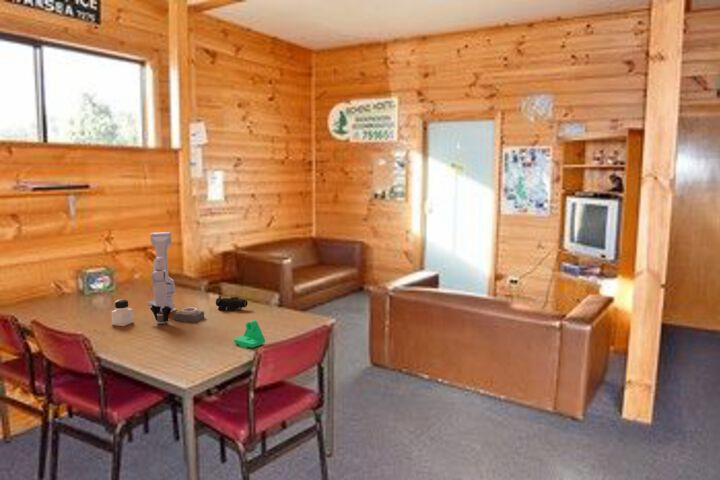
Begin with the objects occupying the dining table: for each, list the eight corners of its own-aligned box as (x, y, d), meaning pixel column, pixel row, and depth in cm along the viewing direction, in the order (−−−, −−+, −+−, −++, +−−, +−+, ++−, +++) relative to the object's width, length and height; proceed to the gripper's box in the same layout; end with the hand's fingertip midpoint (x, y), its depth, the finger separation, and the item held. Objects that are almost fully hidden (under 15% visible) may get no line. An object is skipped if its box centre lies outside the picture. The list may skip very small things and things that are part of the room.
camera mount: (233, 344, 229) (232, 322, 227) (246, 339, 235) (245, 318, 233) (252, 350, 222) (251, 327, 221) (265, 345, 228) (264, 322, 227)
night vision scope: (247, 314, 282) (239, 307, 273) (217, 313, 286) (209, 305, 278) (250, 301, 286) (243, 293, 277) (221, 300, 290) (213, 292, 282)
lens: (155, 324, 257) (154, 313, 256) (161, 322, 261) (160, 310, 260) (162, 325, 256) (162, 313, 255) (169, 322, 260) (168, 311, 259)
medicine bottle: (133, 322, 261) (132, 299, 259) (123, 326, 255) (121, 302, 253) (122, 320, 264) (121, 298, 262) (111, 325, 257) (110, 301, 255)
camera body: (174, 320, 264) (174, 310, 264) (184, 315, 272) (184, 306, 271) (194, 322, 261) (194, 312, 260) (204, 317, 268) (203, 308, 267)
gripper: (142, 295, 255) (144, 321, 257) (167, 297, 250) (168, 324, 252) (152, 291, 261) (154, 317, 263) (176, 293, 257) (178, 320, 259)
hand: (162, 320), depth 258 cm, fingers closed on lens, 4 cm apart
